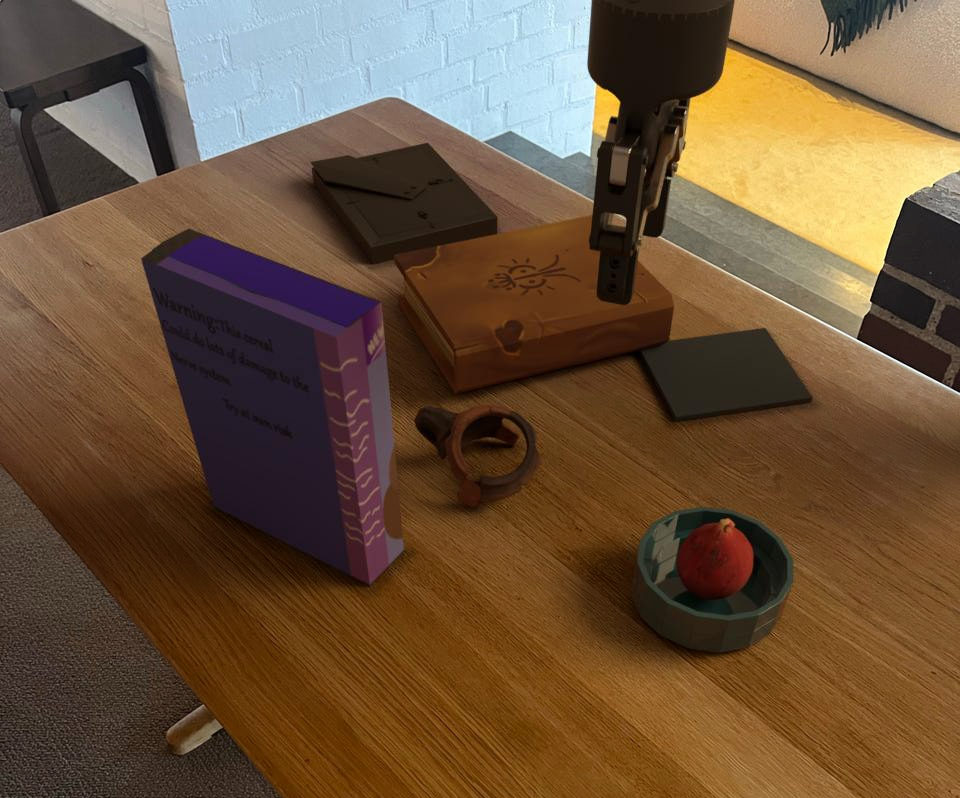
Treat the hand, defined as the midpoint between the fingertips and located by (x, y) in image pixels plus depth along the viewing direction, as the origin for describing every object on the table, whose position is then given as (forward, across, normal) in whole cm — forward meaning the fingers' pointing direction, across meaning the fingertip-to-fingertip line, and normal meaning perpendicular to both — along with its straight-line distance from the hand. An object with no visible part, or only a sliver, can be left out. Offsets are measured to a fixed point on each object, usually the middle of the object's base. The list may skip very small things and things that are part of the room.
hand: (631, 265), depth 65 cm
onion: (+26, -3, -10) cm, 28 cm away
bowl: (+26, -3, -10) cm, 28 cm away
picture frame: (+26, +48, +38) cm, 66 cm away
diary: (+26, +28, +15) cm, 41 cm away
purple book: (+26, -6, +24) cm, 36 cm away
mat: (+26, +27, -5) cm, 38 cm away
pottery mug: (+26, +5, +13) cm, 30 cm away
